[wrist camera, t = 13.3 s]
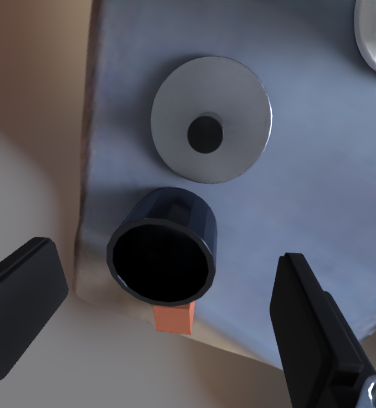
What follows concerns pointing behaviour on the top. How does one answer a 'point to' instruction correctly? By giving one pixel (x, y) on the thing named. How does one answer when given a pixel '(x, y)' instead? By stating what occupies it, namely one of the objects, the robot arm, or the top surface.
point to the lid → (211, 119)
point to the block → (174, 318)
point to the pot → (165, 248)
